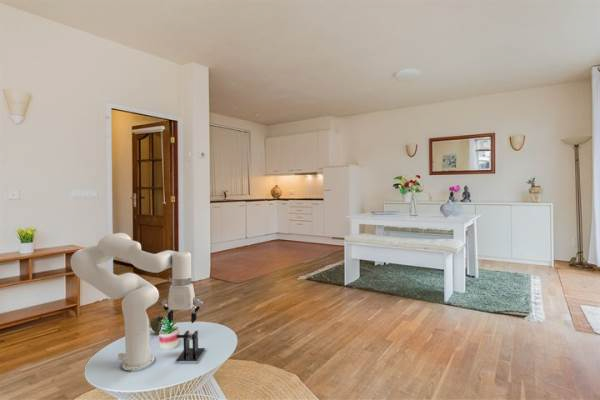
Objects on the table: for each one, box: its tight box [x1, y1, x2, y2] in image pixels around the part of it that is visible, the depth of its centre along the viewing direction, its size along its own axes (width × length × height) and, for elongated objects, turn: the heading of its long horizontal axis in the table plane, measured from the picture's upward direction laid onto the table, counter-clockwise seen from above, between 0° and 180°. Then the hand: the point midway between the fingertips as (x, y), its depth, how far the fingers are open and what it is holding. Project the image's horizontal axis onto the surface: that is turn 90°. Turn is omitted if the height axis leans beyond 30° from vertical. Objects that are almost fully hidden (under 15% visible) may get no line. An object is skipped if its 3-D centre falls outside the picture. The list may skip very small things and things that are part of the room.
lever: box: [176, 333, 193, 341], centre depth 147 cm, size 12×5×2 cm, turn 178°
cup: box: [149, 315, 166, 336], centre depth 176 cm, size 8×7×8 cm
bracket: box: [176, 330, 206, 362], centre depth 151 cm, size 11×9×11 cm
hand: (182, 321), depth 143 cm, fingers open, 9 cm apart
